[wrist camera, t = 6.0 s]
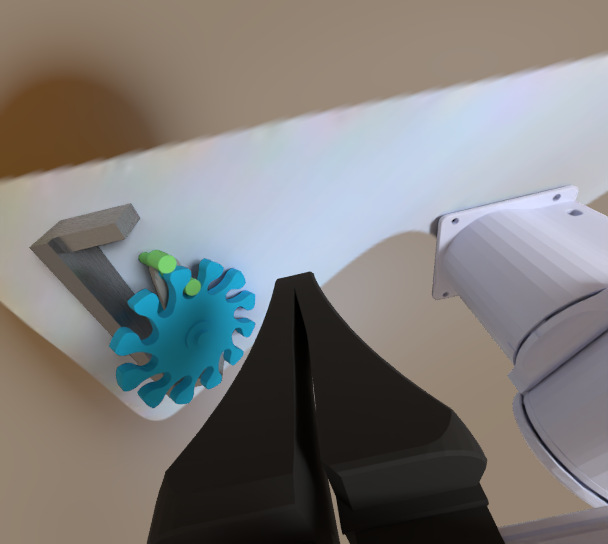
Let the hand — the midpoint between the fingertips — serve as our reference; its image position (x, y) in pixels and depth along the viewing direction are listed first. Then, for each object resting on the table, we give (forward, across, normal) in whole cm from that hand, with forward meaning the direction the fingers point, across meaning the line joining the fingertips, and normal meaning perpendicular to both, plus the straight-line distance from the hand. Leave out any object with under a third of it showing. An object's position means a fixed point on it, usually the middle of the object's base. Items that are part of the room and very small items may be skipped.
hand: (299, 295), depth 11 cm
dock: (+9, +11, +6) cm, 16 cm away
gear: (+10, +8, +6) cm, 14 cm away
